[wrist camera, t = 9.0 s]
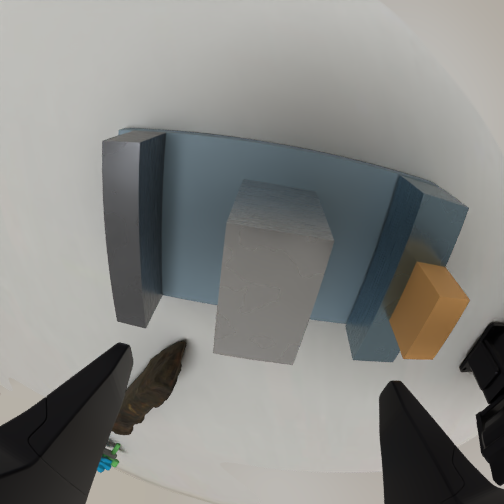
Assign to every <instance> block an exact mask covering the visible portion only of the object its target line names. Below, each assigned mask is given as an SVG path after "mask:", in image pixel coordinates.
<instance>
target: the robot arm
mask: <svg viewBox="0 0 504 504" xmlns="http://www.w3.org/2000/svg"><path fill="white" fill-rule="evenodd" d="M132 367H133V357H132V352H131V347H130V346H129V345H128V344H124V343H117V344H115V345H114V346H113V347H111V348H110V349H109V350H107V351H106V352H105V353H103V354H102V355H101V356H99V357H98V358H97V359H95V360H94V361H93V362H91V363H90V364H89V365H87V366H86V367H85V368H83V369H82V370H81V371H79V372H78V373H77V374H75V375H74V376H73V377H71V378H70V379H69V380H67V381H66V382H65V383H63V384H62V385H61V386H59V387H58V388H57V389H55V390H54V391H53V392H51V393H50V394H49V395H47V397H45V398H43V399H42V400H41V401H39V402H38V403H37V404H35V405H34V406H32V407H31V408H30V409H28V410H27V411H25V412H24V413H22V414H21V415H19V416H17V417H15V418H14V419H12V420H10V421H9V422H7V423H5V424H3V425H1V426H0V504H85V503H86V500H87V497H88V494H89V491H90V488H91V485H92V482H93V479H94V477H95V474H96V471H97V468H98V465H99V463H100V460H101V457H102V454H103V452H104V449H105V446H106V444H107V441H108V439H109V436H110V433H111V431H112V428H113V426H114V423H115V421H116V418H117V416H118V413H119V411H120V408H121V405H122V403H123V399H124V396H125V392H126V388H127V385H128V381H129V378H130V374H131V371H132ZM460 371H461V372H473V374H474V376H475V379H476V381H477V383H478V385H479V387H480V389H481V390H482V391H483V393H484V395H485V398H486V400H487V402H488V404H490V405H489V406H487V407H486V408H485V409H484V410H483V411H481V412H479V413H478V414H476V420H477V428H478V434H479V441H480V448H481V453H482V456H483V457H484V458H485V459H486V461H487V462H488V463H489V464H490V467H491V472H492V477H493V480H494V481H495V482H496V483H497V484H498V485H500V486H501V485H503V484H504V324H503V323H492V324H490V325H489V326H488V328H487V329H486V331H485V332H484V334H483V335H482V337H481V338H480V340H479V341H478V343H477V344H476V346H475V347H474V348H473V350H472V351H471V353H470V354H469V355H468V357H467V358H466V360H465V361H464V362H463V364H462V365H461V366H460ZM379 432H380V445H381V456H382V469H383V482H384V483H383V484H384V503H385V504H504V489H501V488H498V487H496V486H494V485H493V484H491V483H490V482H489V481H488V480H487V479H486V478H485V477H484V476H483V475H482V474H481V473H480V472H479V471H478V470H477V469H476V468H475V467H474V466H473V465H472V464H471V463H470V462H469V461H468V460H467V458H466V457H465V456H464V455H463V454H462V453H461V451H460V450H459V449H458V448H457V447H456V445H454V443H453V442H452V441H451V439H450V438H449V437H448V436H447V435H446V433H445V432H444V431H443V430H442V429H441V427H440V426H439V425H438V424H437V423H436V421H435V420H434V419H433V418H432V417H431V416H430V414H429V413H428V412H427V411H426V410H425V408H424V407H423V406H422V405H421V404H420V403H419V401H418V400H417V399H416V398H415V397H414V396H413V394H412V393H411V392H410V391H409V390H408V389H407V387H406V386H405V385H404V384H403V383H402V382H401V381H390V382H389V383H388V384H387V385H386V387H385V388H384V390H383V391H382V392H381V394H380V397H379Z"/></svg>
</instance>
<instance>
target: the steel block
mask: <svg viewBox="0 0 504 504" xmlns="http://www.w3.org/2000/svg"><path fill="white" fill-rule="evenodd" d="M333 244H334V239H333V236H332V233H331V230H330V228H329V225H328V222H327V220H326V217H325V214H324V212H323V209H322V206H321V204H320V201H319V199H318V196H317V194H316V192H315V191H310V190H305V189H299V188H294V187H288V186H283V185H277V184H271V183H265V182H259V181H253V180H246V179H243V181H242V184H241V186H240V189H239V192H238V194H237V197H236V199H235V202H234V204H233V207H232V210H231V212H230V215H229V218H228V220H227V223H226V232H225V240H224V249H223V258H222V267H221V277H220V286H219V296H218V306H217V316H216V327H215V338H214V349H213V353H215V354H221V355H227V356H233V357H239V358H245V359H252V360H259V361H266V362H274V363H282V364H290V365H293V363H294V360H295V358H296V355H297V352H298V350H299V347H300V344H301V341H302V339H303V336H304V333H305V330H306V327H307V325H308V322H309V319H310V316H311V313H312V310H313V307H314V304H315V301H316V298H317V295H318V292H319V289H320V286H321V283H322V280H323V277H324V273H325V270H326V267H327V264H328V260H329V257H330V254H331V251H332V247H333Z"/></svg>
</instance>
